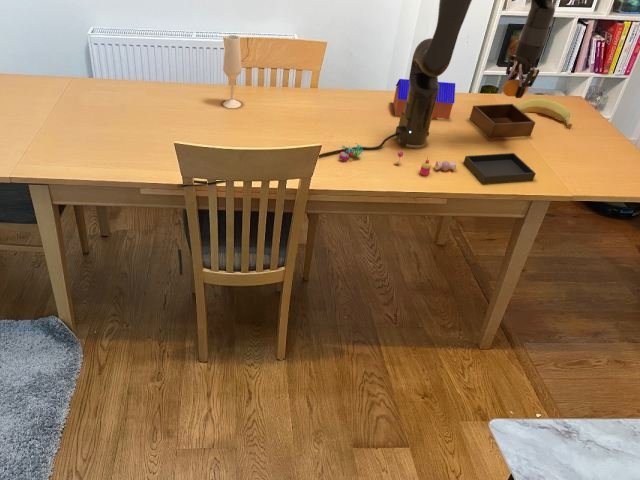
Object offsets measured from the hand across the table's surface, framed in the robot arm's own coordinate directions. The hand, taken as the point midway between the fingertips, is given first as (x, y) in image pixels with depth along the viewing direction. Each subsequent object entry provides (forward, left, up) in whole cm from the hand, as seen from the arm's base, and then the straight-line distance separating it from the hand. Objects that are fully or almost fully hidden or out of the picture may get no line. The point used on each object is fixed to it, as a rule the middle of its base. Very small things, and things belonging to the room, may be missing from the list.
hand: (513, 93), depth 191 cm
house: (-17, +26, -17) cm, 36 cm away
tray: (-10, -19, -17) cm, 28 cm away
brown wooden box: (+6, +9, -17) cm, 20 cm away
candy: (-33, -15, -17) cm, 41 cm away
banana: (+28, +15, -17) cm, 36 cm away
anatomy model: (-55, -4, -17) cm, 58 cm away
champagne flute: (-86, +40, -17) cm, 97 cm away
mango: (0, 0, -1) cm, 1 cm away
